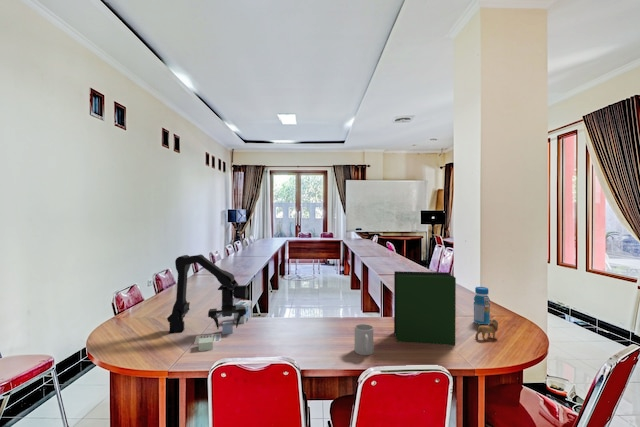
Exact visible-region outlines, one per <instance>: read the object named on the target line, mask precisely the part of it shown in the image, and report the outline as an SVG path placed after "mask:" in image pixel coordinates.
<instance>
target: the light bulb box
mask: <svg viewBox="0 0 640 427" xmlns="http://www.w3.org/2000/svg"><path fill="white" fill-rule="evenodd" d="M252 302H253V301H252V300H250V299H249V300H248V299H240V300H238V301H237V302H236V303H233V306H236V309H238V307H246V315H243V316H242V317H241V318H240V320H239V323H238V324H243V325H244V324H246V323H247V322H249V321H250V320H252V313H253V311H252V307H253V306H252ZM237 314H238V313H233V324H236V322H237Z"/></svg>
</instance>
